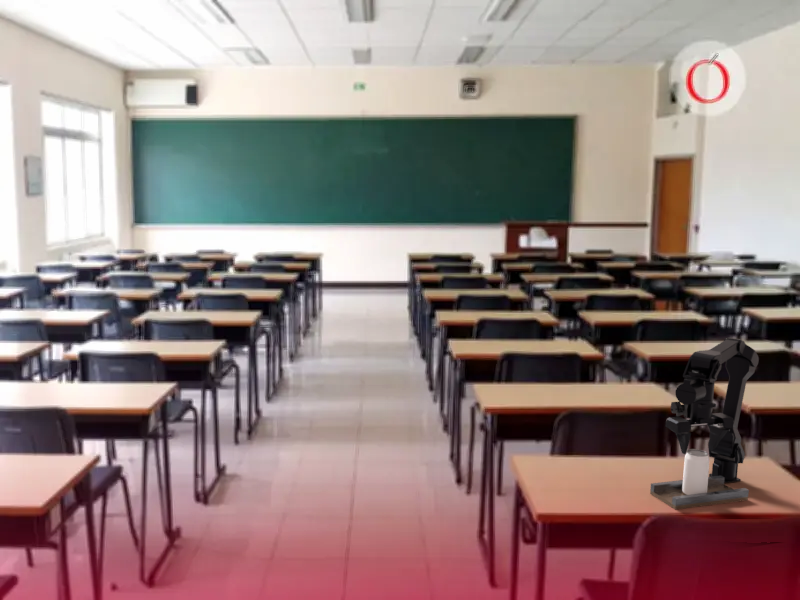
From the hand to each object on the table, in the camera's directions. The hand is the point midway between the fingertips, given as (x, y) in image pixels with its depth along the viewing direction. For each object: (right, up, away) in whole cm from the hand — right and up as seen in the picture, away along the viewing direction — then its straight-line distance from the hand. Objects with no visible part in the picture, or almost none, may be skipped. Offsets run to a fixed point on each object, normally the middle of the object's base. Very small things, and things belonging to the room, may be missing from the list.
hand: (697, 452), depth 209 cm
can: (0, -12, +1) cm, 12 cm away
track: (+1, -13, +2) cm, 13 cm away
